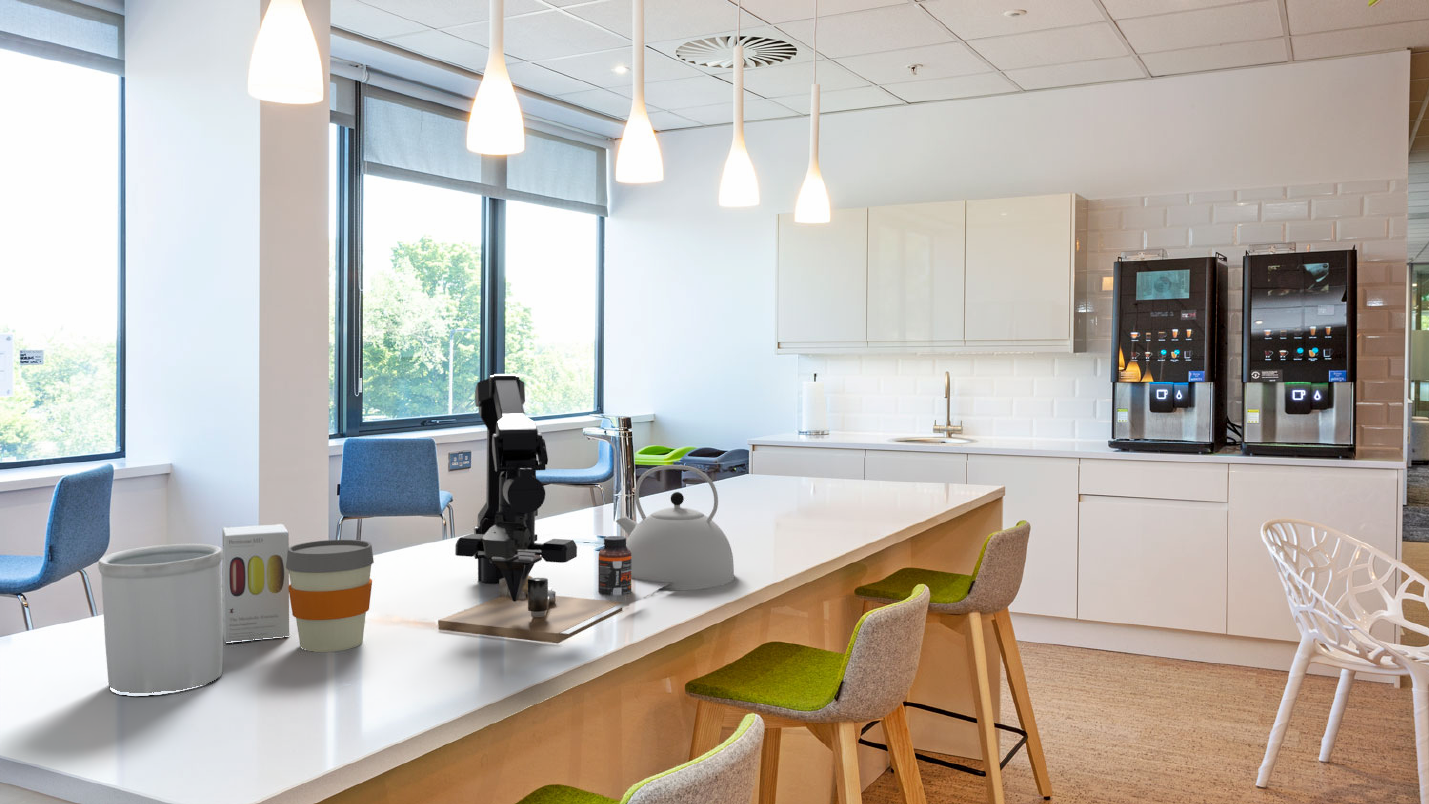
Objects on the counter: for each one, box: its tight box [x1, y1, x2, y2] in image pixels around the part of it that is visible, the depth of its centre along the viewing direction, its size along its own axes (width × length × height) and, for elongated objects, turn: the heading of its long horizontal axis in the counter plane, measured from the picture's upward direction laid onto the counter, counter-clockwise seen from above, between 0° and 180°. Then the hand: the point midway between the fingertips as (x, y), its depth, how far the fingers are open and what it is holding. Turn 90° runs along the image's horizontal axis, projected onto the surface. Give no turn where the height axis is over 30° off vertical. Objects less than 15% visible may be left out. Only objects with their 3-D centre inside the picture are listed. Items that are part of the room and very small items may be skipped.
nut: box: [522, 575, 533, 595], centre depth 186 cm, size 4×4×4 cm
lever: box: [528, 577, 557, 617], centre depth 176 cm, size 18×4×6 cm, turn 4°
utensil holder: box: [97, 543, 224, 693], centre depth 142 cm, size 15×15×18 cm
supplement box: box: [221, 523, 290, 643], centre depth 165 cm, size 10×9×17 cm
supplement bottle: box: [597, 535, 632, 596], centre depth 189 cm, size 6×6×11 cm
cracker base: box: [437, 578, 623, 644], centre depth 176 cm, size 22×24×4 cm
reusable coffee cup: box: [286, 539, 375, 653], centre depth 160 cm, size 13×13×15 cm
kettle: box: [615, 464, 735, 591], centre depth 209 cm, size 25×23×22 cm
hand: (515, 601), depth 169 cm, fingers closed
